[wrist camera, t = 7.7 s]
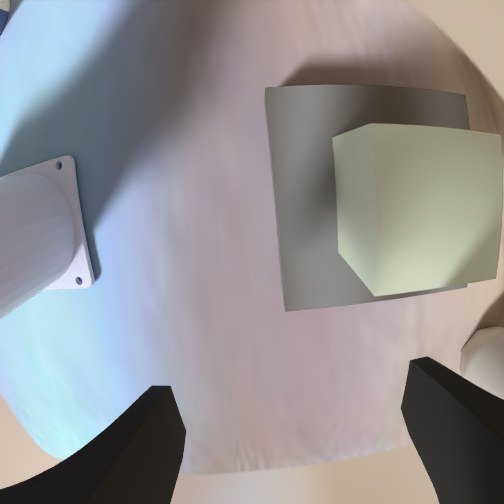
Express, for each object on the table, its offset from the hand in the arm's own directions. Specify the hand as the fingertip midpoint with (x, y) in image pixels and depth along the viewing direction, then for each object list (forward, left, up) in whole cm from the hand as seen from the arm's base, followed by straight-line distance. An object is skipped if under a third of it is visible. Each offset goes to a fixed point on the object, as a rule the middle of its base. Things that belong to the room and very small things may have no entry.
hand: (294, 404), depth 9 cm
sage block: (+5, +5, -6) cm, 10 cm away
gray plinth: (+5, +5, -9) cm, 12 cm away
